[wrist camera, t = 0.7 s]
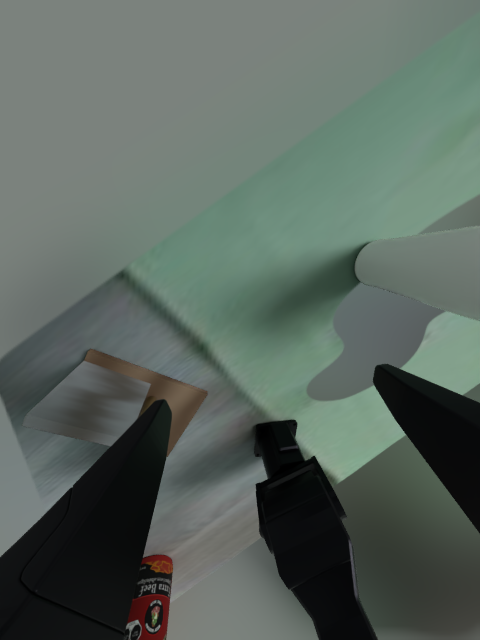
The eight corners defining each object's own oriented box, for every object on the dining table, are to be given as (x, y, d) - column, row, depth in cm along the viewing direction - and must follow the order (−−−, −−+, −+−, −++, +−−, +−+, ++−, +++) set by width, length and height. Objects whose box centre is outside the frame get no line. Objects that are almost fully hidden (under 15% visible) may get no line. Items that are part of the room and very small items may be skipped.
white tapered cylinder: (338, 286, 24) (518, 336, 10) (358, 227, 22) (616, 191, 8) (383, 293, 26) (592, 346, 12) (405, 238, 24) (692, 225, 10)
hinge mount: (207, 391, 26) (208, 453, 18) (168, 452, 29) (154, 530, 21) (90, 348, 22) (25, 406, 14) (56, 425, 24) (-16, 512, 16)
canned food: (181, 556, 39) (173, 666, 28) (159, 578, 40) (144, 691, 30) (144, 551, 36) (121, 670, 26) (122, 574, 37) (92, 697, 27)
